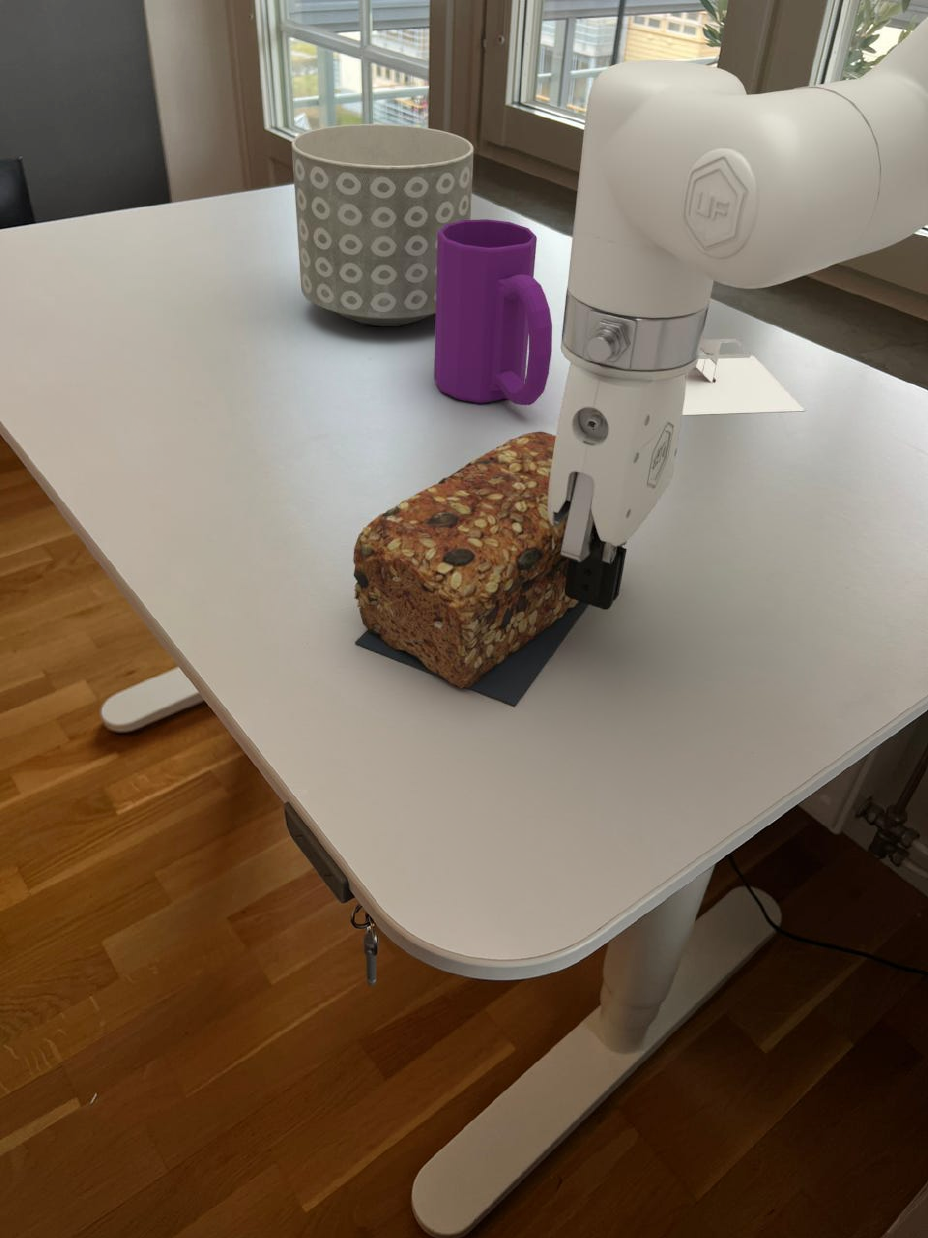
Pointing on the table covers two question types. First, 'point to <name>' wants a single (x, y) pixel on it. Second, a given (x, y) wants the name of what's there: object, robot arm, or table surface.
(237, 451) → the table surface
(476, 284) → the mug
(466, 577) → the bread
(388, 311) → the planter
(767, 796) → the table surface
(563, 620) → the corner pad
